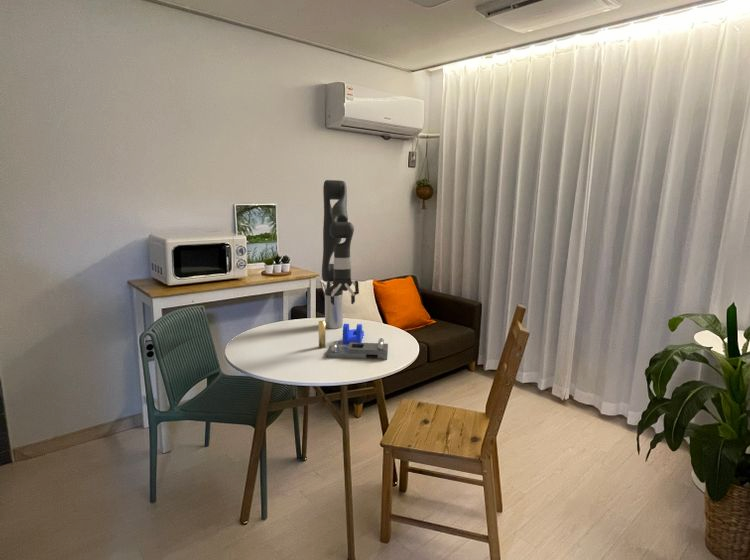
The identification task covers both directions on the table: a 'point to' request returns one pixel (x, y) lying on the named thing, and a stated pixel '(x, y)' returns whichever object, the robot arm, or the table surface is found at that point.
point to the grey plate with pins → (358, 350)
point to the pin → (321, 334)
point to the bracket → (352, 334)
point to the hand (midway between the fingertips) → (342, 304)
